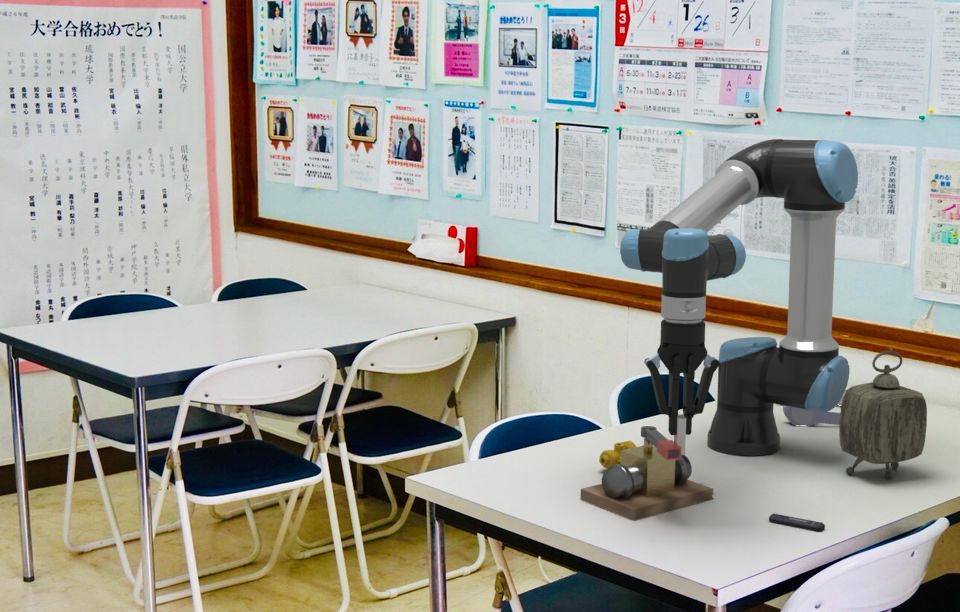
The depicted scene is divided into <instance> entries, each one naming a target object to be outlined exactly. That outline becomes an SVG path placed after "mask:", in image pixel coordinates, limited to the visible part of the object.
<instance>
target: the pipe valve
mask: <svg viewBox="0 0 960 612" xmlns="http://www.w3.org/2000/svg"><path fill="white" fill-rule="evenodd" d="M692 469H693V468H692V463H691V460H690V459H689V458H688V457H687V456H686V454H685V455H681V459H675V460H666V459H665V458H664V457H663V456H662V455H660V454H659V453H658V452H657V448H656V447H655V446H654V445H653V444H651V443H650V442H649V441H648V440H647V439H646V438H644V437H643V445H639V446H636V447H635V448H630V449H626V450H621V463H620V464H617V465H613V466H610V467H609V468H608V469H607V468H606V471H605V472H603V474H602V475H601V476H602V477H601V484H602V487H603V490H604V492H605V494H606V495H607V496H608V497H610V498H618V497H619V498H622V499H628V498H630V497H631V495H632V494H633V493H637V494H639V495H642V496H645V497H650V496H653V495H657V494H661V493H665V492H669V491H672V490H674V483H675V484H678V485H681V484H684V483H686V481H687V480H689V479H690V478H691V476H692V472H693V470H692Z"/></svg>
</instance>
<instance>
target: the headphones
mask: <svg viewBox="0 0 960 612" xmlns="http://www.w3.org/2000/svg"><path fill="white" fill-rule="evenodd" d="M842 400H843V397H842V399H841V400H840V402H839V403H838V404H839V405H841V404H842ZM782 406H783V407H782V412H783V414H784V416H785V418H786V419H787V420H788V421H789V422H790V423H791V424H792V425H793V426H794V425H806V426H809V427H811V426H813V425H815V424H826V425H833V426H836V425H837V426H839V420H840V412H836V411H835V412H834V411H827V412H819V411H807V410H806V409H800V408H795V407H789V406H784V405H782Z"/></svg>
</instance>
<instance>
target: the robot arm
mask: <svg viewBox="0 0 960 612" xmlns="http://www.w3.org/2000/svg"><path fill="white" fill-rule="evenodd" d="M858 171H859V170H858V166H857V161H856V157H855V155H854V153H853V152H852V150H851V148H850V147H849V146H848V145H847V144H845V143H844V142H840V141H836V140H827V139H783V138H782V139H781V138H772V139H766V140H763V141H760V142H757V143H754V144H751V145H749V146H747V147H745V148H743V149H741V150H740V151H738V152H736V153H734V154H733V155H731V156H730V157H728V158H727V159H726V160H724V161H723V162H722V163H720V164H719V166H718V167H717V168H716V171H715V174H714V176H712V177H711V178H710V179H709V180H707V181H706V182H705V183H704V184H703V185H702V186H700V187H699V188H697V189H696V190H694V192H693V193H691V194H690V195H689V196H687V198H685V199H684V200H683V201H682V202H680V203H679V204H678V205H677V206H676V207H674V208H673V209H672V210H670V211H669V212H668V213H666V215H664V216H662V218H661V219H659V220H658V221H657V222H655V224H653V225H652V226H650V228H648V229H644V228H642V227H641V228H633V229H629V230H627V231H626V232H625V233H624V235H623V237H622V239H621V242H620V245H619V253H620V259H621V262H622V263H623V265H624V266H625V267H626V268H628V269H629V270H636V271H641V272H650V273H660V274H662V275H661V276H662V277H661V279H662V280H661V281H662V285H661V286H662V289H661V305H660V317H662V318H664V319H662V320H661V321H660V344H659V347H658V348H657V351H656V354H654V355H653V356H652V357H650V358H645V359H644V364H645V366H646V367H647V369H648V371H649V373H650V377H651V381H652V386H653V392H654V396H655V400H656V404H657V409H658V411H659V412H660V413H661V414H662V415H666V416H668V426H667V427H668V428H667V429H668V430H667V431H668V433H669V434H670V435H671V436H673V441H674V442H675V443H676V444H677V445H678V446H680V447H681V455H685V456H686V440H687V439H686V438H687V436H690V435H691V434H692V426H693V425H692V424H693V418H694V417H695V416H696V415H700V414H702V413H703V412H704V409H705V405H706V401H707V399H708V396H709V395H708V394H709V392H710V387H711V384H712V380H713V376H714V374H715V372H716V370H717V394H716V395H717V396H716V397H717V400H716V411H715V413H714V416H713V418H712V421H711V425H710V428H709V430H708V432H707V438H706V439H707V440H706V441H707V443H706V444H707V446H708V447H709V448H711V449H713V450H715V451H717V452H721V453H725V454H730V455H737V456H766V455H771V454H774V453H777V452H779V451H780V449H781V436H780V434H779V432H778V426H777V422H776V417H775V415H774V414H775V413H774V405H780V406H789V407H795V408H800V409H806V410H807V411H819V412H831V411H832V410H833V409H834V408H836V407H838V406H837V405H838V403H839V402H840V400H841V399H842V397H843V396H844V394H845V391H846V390H847V386H848V383H849V378H850V364H849V361H848V359H847V358H846V357H844V356H843V355H839V350H840V346H839V345H840V344H839V343H838V342H837V341H836V340H835V339H834V338H833V336H832V330H833V328H832V327H833V310H834V309H833V308H834V307H833V305H834V283H835V282H834V281H835V278H834V277H835V256H836V235H837V234H836V233H837V227H836V226H837V218H838V217H839V216H840V215H841V214H842V213H843V212H845V208H846V207H845V206H846V203H848V202H850V201H852V199H853V198H854V197H855V195H856V191H857V190H856V189H857V188H858V185H859V184H858V183H859V181H858V180H859V173H858ZM760 198H778V199H783V210H784V211H785V212H786V213H787V214H788V215H789V217H790V221H791V222H790V248H789V249H790V251H789V275H788V277H789V278H788V279H789V280H788V304H787V310H788V311H787V332H786V333H787V334H786V336H785V337H783V338H781V340H779V347H777V346H778V342H777V340H776V339H775V338H773V337H769V336H752V337H742V338H741V337H740V338H733V339H729V340H726V341H724V342H723V343H722V344H721V345H720V347H719V354H718V359H717V358H716V357H713V356H711V355H709V354H708V349H707V348H706V345H705V343H706V322H705V321H704V319H705V318H706V316H707V315H706V312H707V311H706V309H707V306H706V305H707V283H708V281H712V280H713V281H714V280H717V279H725V278H729V277H730V276H733V275H735V274H737V273H739V272H740V271H741V270H742V268H744V266H745V262H746V260H747V259H746V257H747V255H746V248H745V246H744V244H743V242H742V241H741V240H740V238H738V237H736V236H735V235H732V234H727V233H726V234H723V233H717V234H715V235H711V234H710V235H708V232H710V231H711V230H712V229H713V228H714V227H716V226H717V225H719V223H720V222H721V221H723V220H724V219H726V217H727V216H729V215H730V214H731V213H733V211H735V210H736V209H737V208H738V207H739V206H744V205H748V204H750V203H752V202H753V201H754V200H755V199H760ZM661 363H662V364H663V365H664V367H665V368H666V369H667V371H668V402H667V399H666V396H665V395H666V394H665V391H664V386H663V382H662V381H663V380H662V378H661V373H660V371H659V369H660V367H661ZM702 363H703V370H702V373H701V377H700V380H699V383H698V387H697V392H696V394H695V398H694V387H695V386H694V385H695V384H694V383H695V377H696V375H695V374H696V373H695V372H696V371H697V370H698V368H699V367H700V365H701V364H702ZM681 374H682V375H683V387H682V389H683V390H682V391H683V392H682V414H679V403H680V402H679V399H680V398H679V397H680V393H679V392H680V379H681ZM667 403H668V405H667Z"/></svg>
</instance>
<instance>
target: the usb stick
mask: <svg viewBox="0 0 960 612" xmlns="http://www.w3.org/2000/svg"><path fill="white" fill-rule="evenodd" d="M768 522H770V523H773V524H778V525H782V526H786V527H787V526H788V527H790V528H791V527H792V528H796V529H797V528H798V529H801V530H807V531H813V532H816V533H817V532H818V533H821V532H824V530H825V528H826V525H825V524H824V523H823V522H821V521H817V520H811V519H806V518H805V519H804V518H800V517H794V516H789V515H783V514H778V513H772V514H771V515H770V516H769V517H768Z"/></svg>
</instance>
